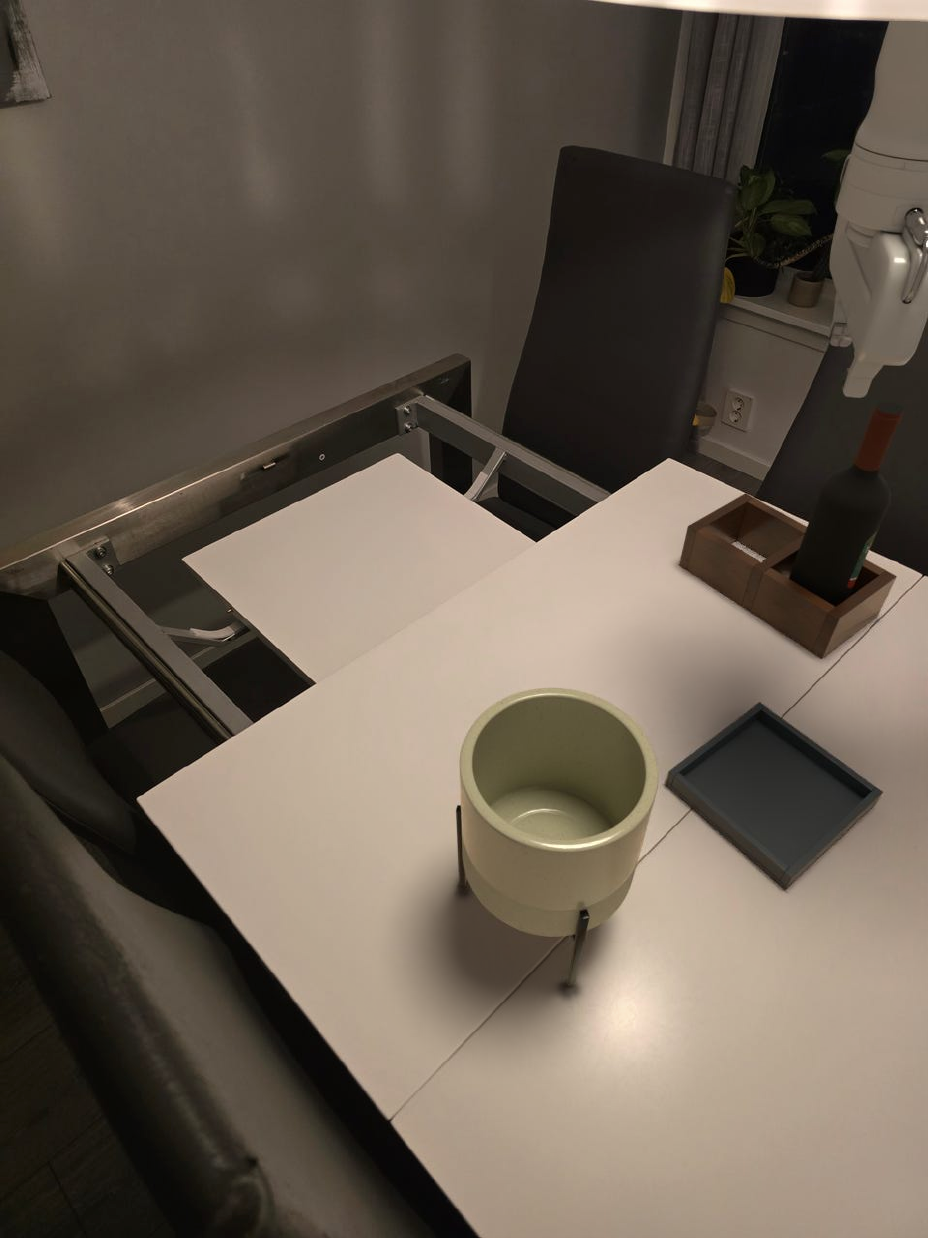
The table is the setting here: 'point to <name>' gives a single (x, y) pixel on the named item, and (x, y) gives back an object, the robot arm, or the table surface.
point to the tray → (773, 792)
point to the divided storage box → (777, 574)
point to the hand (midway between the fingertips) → (844, 366)
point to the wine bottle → (847, 515)
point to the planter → (553, 811)
